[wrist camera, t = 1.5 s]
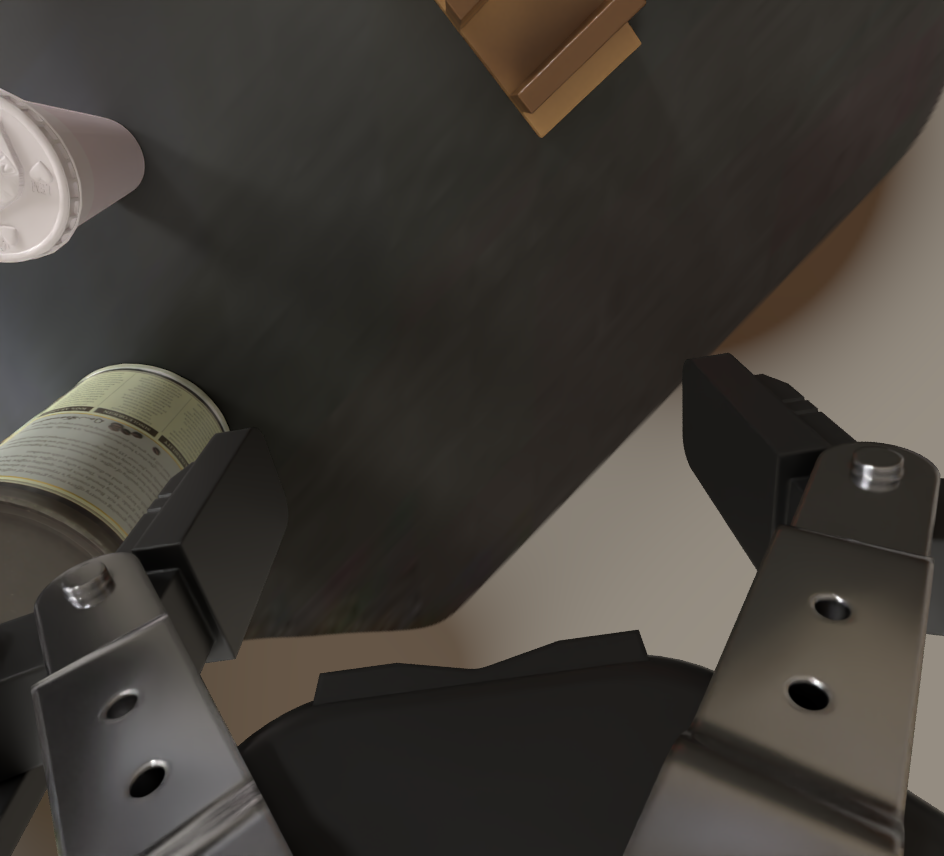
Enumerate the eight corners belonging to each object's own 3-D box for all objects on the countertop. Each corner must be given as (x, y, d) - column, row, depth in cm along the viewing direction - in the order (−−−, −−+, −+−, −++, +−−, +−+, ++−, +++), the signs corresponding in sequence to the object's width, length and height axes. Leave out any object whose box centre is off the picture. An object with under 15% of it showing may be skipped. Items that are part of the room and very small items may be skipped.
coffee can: (248, 503, 42) (160, 675, 29) (92, 506, 41) (-63, 681, 29) (218, 359, 37) (98, 492, 24) (41, 361, 37) (-170, 496, 24)
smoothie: (192, 140, 31) (23, 166, 19) (143, 247, 34) (-36, 331, 21) (64, 55, 30) (-215, 22, 17) (22, 173, 32) (-251, 220, 19)
